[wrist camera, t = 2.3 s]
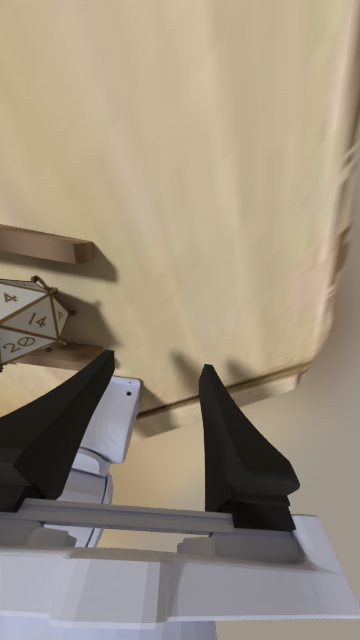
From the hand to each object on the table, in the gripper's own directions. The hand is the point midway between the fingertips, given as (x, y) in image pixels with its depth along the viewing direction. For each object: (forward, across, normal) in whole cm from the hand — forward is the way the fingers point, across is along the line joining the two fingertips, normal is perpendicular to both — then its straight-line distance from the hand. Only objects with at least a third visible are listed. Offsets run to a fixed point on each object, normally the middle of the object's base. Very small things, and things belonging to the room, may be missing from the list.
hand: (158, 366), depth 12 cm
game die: (+8, +14, 0) cm, 15 cm away
